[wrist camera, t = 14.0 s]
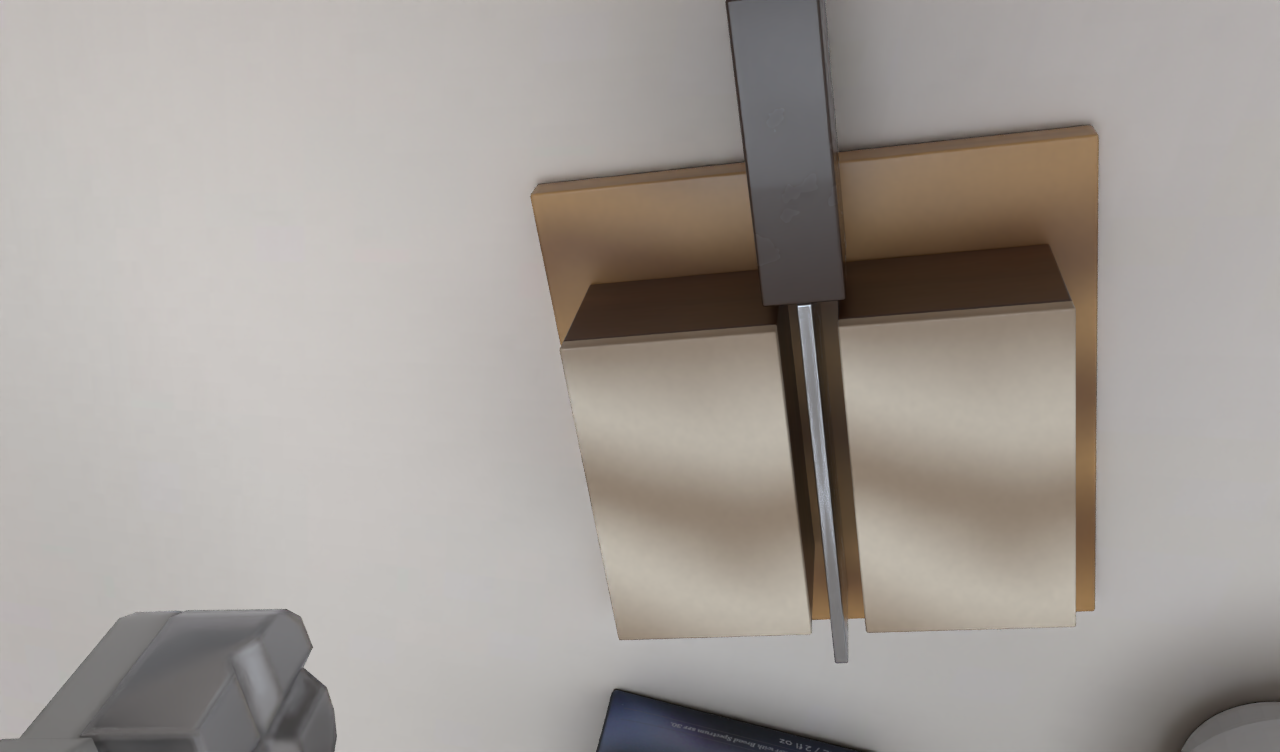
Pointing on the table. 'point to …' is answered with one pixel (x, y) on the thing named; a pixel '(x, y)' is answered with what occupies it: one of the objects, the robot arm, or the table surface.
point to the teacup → (1239, 730)
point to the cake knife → (797, 217)
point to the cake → (840, 392)
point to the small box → (689, 731)
